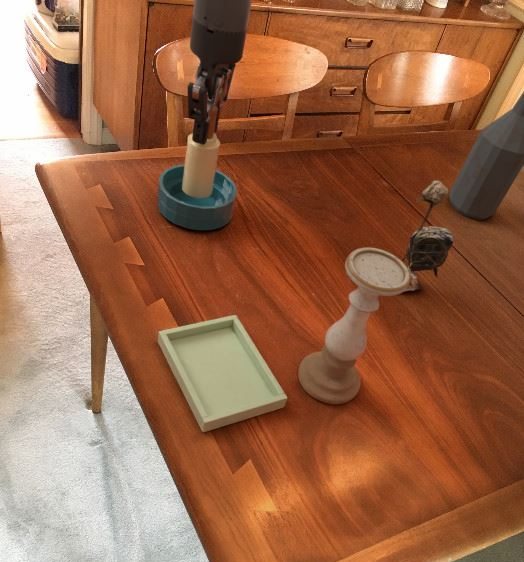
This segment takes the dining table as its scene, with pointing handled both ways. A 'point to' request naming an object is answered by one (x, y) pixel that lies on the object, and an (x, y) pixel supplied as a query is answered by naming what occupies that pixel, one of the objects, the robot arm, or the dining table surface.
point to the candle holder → (352, 326)
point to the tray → (220, 372)
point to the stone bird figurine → (428, 239)
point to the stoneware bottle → (201, 163)
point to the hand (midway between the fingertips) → (204, 136)
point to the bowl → (196, 201)
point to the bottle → (491, 166)
